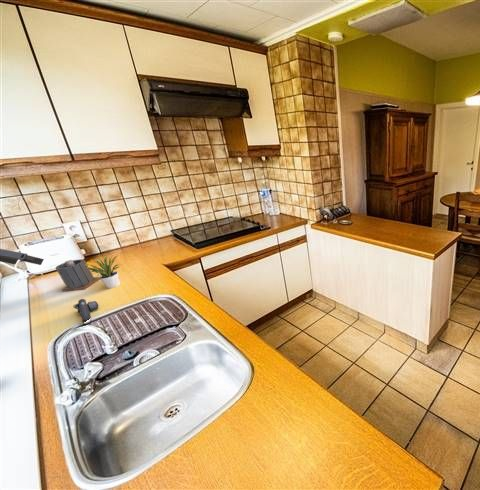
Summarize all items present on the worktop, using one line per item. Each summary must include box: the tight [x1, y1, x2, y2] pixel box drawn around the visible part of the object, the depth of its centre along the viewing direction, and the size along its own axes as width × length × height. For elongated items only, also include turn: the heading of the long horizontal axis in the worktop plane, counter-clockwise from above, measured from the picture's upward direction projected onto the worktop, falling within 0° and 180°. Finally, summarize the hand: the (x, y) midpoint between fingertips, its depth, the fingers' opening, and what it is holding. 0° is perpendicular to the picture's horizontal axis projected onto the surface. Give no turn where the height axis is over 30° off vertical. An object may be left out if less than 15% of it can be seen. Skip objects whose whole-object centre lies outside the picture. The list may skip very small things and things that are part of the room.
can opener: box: [72, 298, 99, 323], centre depth 111 cm, size 18×7×6 cm, turn 44°
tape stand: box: [61, 259, 101, 293], centre depth 134 cm, size 10×10×14 cm
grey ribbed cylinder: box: [55, 258, 94, 288], centre depth 134 cm, size 10×10×11 cm
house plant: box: [85, 253, 122, 289], centre depth 133 cm, size 14×14×16 cm
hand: (29, 261), depth 119 cm, fingers open, 13 cm apart
